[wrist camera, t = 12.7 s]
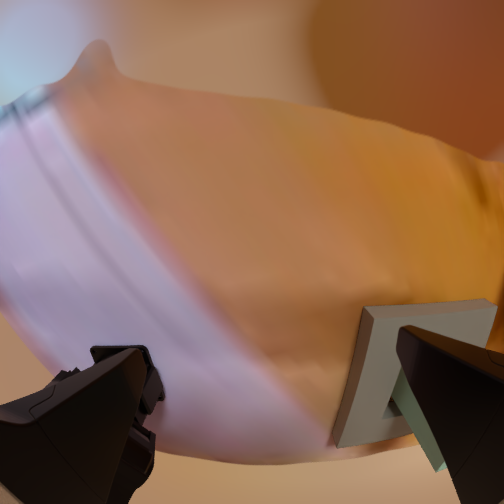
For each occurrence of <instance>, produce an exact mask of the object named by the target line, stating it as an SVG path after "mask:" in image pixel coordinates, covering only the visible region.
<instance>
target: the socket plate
mask: <svg viewBox="0 0 504 504" xmlns="http://www.w3.org/2000/svg"><path fill="white" fill-rule="evenodd" d="M497 308H498V306H496V305H495V304H493V303H491V302H489V301H488V300H486V299H476V300H465V301H453V302H441V303H426V304H409V305H388V306H363V312H362V318H361V323H360V328H359V333H358V338H357V343H356V347H355V352H354V356H353V361H352V365H351V369H350V373H349V377H348V381H347V385H346V388H345V392H344V396H343V399H342V403H341V406H340V410H339V413H338V416H337V419H336V423H335V426H334V429H333V432H332V434H333V438H334V441H335V444H336V448H344V447H351V446H357V445H363V444H369V443H374V442H379V441H383V440H388V439H392V438H397V437H401V436H405V435H408V434H412V433H413V431H412V430H411V428H410V426H409V425H408V423H407V421H406V419H405V418H404V416H403V414H402V413H401V411H400V409H399V408H398V406H397V404H396V403H395V401H394V402H389V399H390V397H391V394H392V391H393V389H394V386H395V383H396V380H397V377H398V374H399V371H400V368H401V363H400V361H399V358H398V356H397V353H396V343H397V337H398V331H399V328H400V327H401V326H406V325H413V326H416V327H419V328H422V329H425V330H428V331H431V332H434V333H438V334H441V335H444V336H447V337H450V338H453V339H456V340H459V341H463V342H466V343H469V344H472V345H475V346H479V347H482V348H485V346H486V343H487V340H488V337H489V334H490V331H491V328H492V325H493V322H494V319H495V315H496V312H497ZM388 402H389V403H388Z"/></svg>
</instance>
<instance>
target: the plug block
mask: <svg viewBox="0 0 504 504" xmlns="http://www.w3.org/2000/svg"><path fill="white" fill-rule="evenodd" d="M391 396H392V398H393V399H394V401H395V403H396V404H397V406H398V408H399V409H400V411H401V413H402V414H403V416H404V418H405V419H406V421H407V423H408V425H409V426H410V428H411V430H412V431H413V433H414V435H415V437H416V438H417V440H418V442H419V443H420V445H421V447H422V449H423V450H424V452H425V454H426V456H427V458H428V459H429V461H430V463H431V465H432V467H433V468H434V470H435V472H438V471H441V470H443V469H446V468H447V466H446V463H445V461H444V459H443V456H442V454H441V452H440V449H439V447H438V445H437V443H436V440H435V438H434V436H433V434H432V432H431V429H430V427H429V425H428V423H427V421H426V419H425V417H424V415H423V413H422V411H421V409H420V406H419V404H418V402H417V400H416V398H415V396H414V394H413V393H412V391H411V388H410V386H409V384H408V382H407V379H406V376H405V374H404V371H403V368H402V366H401V368H400V371H399V374H398V377H397V380H396V383H395V386H394V389H393V391H392V394H391Z"/></svg>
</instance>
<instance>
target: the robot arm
mask: <svg viewBox="0 0 504 504" xmlns="http://www.w3.org/2000/svg"><path fill="white" fill-rule="evenodd" d="M94 350H95V351H96V352H95V351H94ZM141 350H143V351H144V352H142V351H141ZM90 352H91V355H92V357H93V360H94V362H95V363H94V365H93V366H92V367H90V368H87V369H85V370H83V371H80V370H79V369H78V368H77V367H76V368H75V369H74V370H73V371H72V372H71V371H70V370H69V372H66V371H63V370H61V372H60V373H59V374H58V375H57V376H56V377H55V378H54V379H53V380H52V381H51V382H50V383H49V384H48V385H47V386H46V387H45V388H44V389H43V390H40V391H38V392H36V393H33V394H30V395H28V396H25V397H23V398H20V399H17V400H14V401H12V402H9V403H6V404H3V405H0V504H128V502H129V500H130V498H131V496H132V494H133V493H134V491H135V490H136V489H137V488H139V487H140V486H141V485H143V484H144V483H145V481H146V480H147V479H148V477H149V475H150V474H151V472H152V470H153V467H154V455H155V437H156V434H154V433H153V432H151V431H148V430H147V429H146V428H144V427H143V426H142V425H143V423H144V420H145V418H146V416H147V415H150V414H151V413H152V412H153V409H154V407H155V405H156V402H157V401H163V400H164V398H165V395H164V392H163V390H162V388H163V386H162V384H161V381H160V378H159V376H158V373H157V370H156V368H155V367H154V366H153V363H152V361H151V358H150V355H149V352H148V349H147V348H146V347H145V346H143V345H130V346H92V347H91V349H90ZM396 353H397V356H398V358H399V361H400V363H401V366H402V368H403V371H404V374H405V376H406V379H407V382H408V384H409V386H410V388H411V391H412V393H413V394H414V396H415V398H416V400H417V402H418V404H419V406H420V409H421V411H422V413H423V415H424V417H425V419H426V421H427V423H428V425H429V427H430V429H431V432H432V434H433V436H434V438H435V440H436V443H437V445H438V447H439V449H440V452H441V454H442V456H443V459H444V461H445V463H446V466H447V468H448V471H449V473H450V476H451V478H452V481H453V484H454V486H455V489H456V492H457V494H458V497H459V500H460V503H461V504H504V354H502V353H498V352H495V351H492V350H488V349H487V350H486V349H485V348H482V347H479V346H475V345H472V344H469V343H466V342H463V341H459V340H456V339H453V338H450V337H447V336H444V335H441V334H438V333H434V332H431V331H428V330H425V329H422V328H419V327H416V326H413V325H406V326H401V327H400V328H399V331H398V337H397V343H396ZM159 396H161V397H159Z"/></svg>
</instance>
